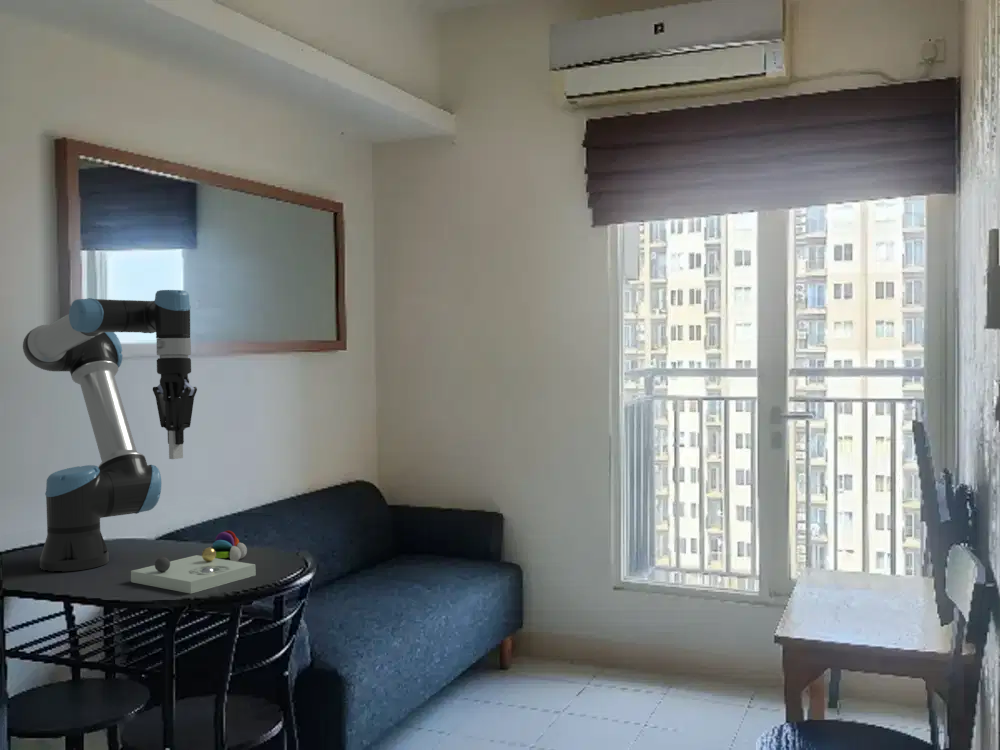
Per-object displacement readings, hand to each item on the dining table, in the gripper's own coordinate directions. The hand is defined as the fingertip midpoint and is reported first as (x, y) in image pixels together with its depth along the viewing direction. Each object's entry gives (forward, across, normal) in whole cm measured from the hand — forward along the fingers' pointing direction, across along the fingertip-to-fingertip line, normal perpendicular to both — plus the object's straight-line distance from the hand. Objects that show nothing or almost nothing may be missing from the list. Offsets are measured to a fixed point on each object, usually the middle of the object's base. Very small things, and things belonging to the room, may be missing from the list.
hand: (176, 458), depth 212 cm
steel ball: (+25, +14, -3) cm, 29 cm away
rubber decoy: (+22, +6, -9) cm, 25 cm away
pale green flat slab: (+26, +9, -3) cm, 28 cm away
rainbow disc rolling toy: (+27, +1, +14) cm, 30 cm away
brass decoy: (+22, +7, +3) cm, 24 cm away
